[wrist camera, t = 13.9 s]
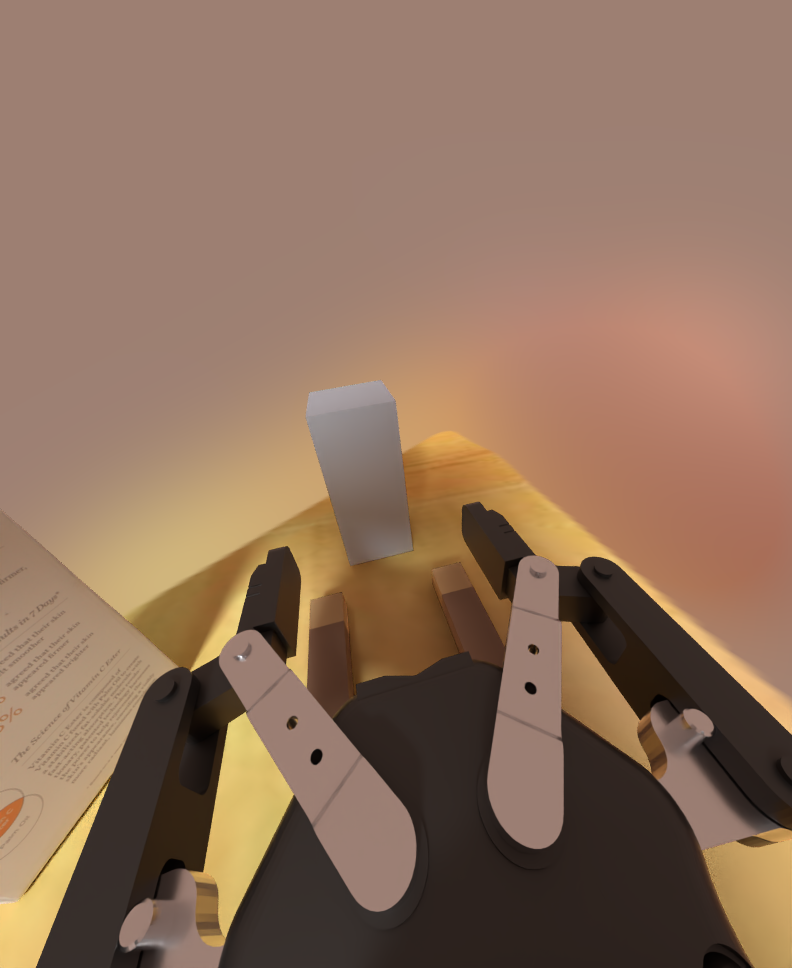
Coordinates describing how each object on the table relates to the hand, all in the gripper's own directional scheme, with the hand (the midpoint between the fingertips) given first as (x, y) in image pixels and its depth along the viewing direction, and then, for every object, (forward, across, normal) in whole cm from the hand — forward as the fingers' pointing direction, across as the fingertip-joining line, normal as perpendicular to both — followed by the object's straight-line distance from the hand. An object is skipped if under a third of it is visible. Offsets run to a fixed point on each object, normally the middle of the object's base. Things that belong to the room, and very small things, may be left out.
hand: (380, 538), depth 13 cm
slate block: (+9, 0, +8) cm, 12 cm away
